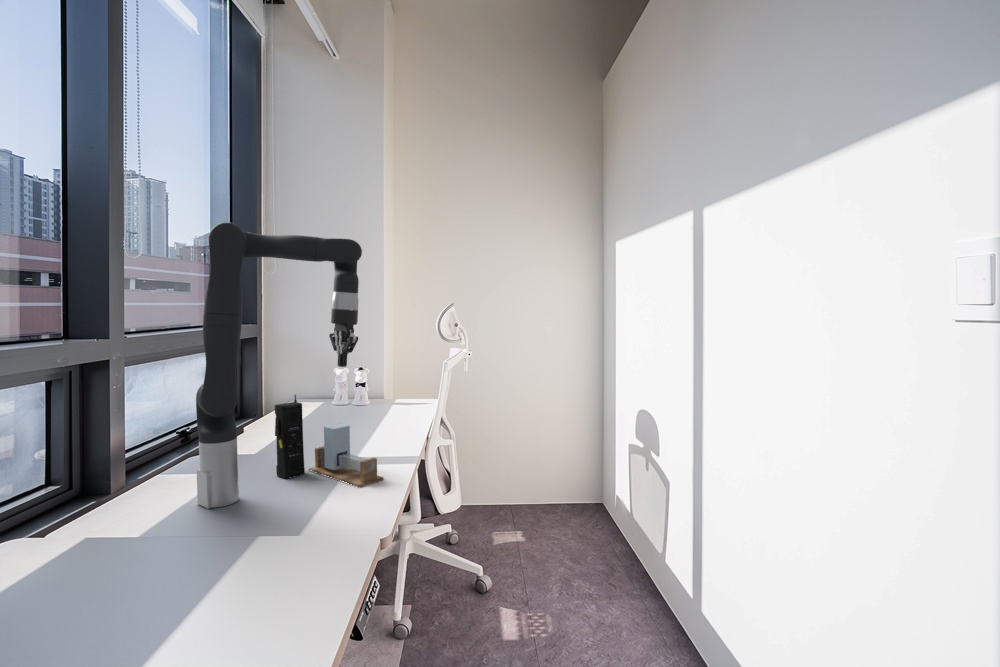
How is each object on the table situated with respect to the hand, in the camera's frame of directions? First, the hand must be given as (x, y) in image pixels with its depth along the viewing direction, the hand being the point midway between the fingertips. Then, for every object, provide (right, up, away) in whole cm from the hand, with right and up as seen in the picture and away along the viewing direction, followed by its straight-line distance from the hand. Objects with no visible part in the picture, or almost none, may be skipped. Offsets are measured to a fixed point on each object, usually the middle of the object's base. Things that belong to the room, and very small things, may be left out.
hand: (342, 366), depth 161 cm
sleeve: (-5, -33, +12) cm, 35 cm away
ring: (-8, -33, +14) cm, 36 cm away
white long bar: (-2, -32, +10) cm, 33 cm away
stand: (-2, -35, +10) cm, 36 cm away
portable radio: (-19, -35, +10) cm, 41 cm away
